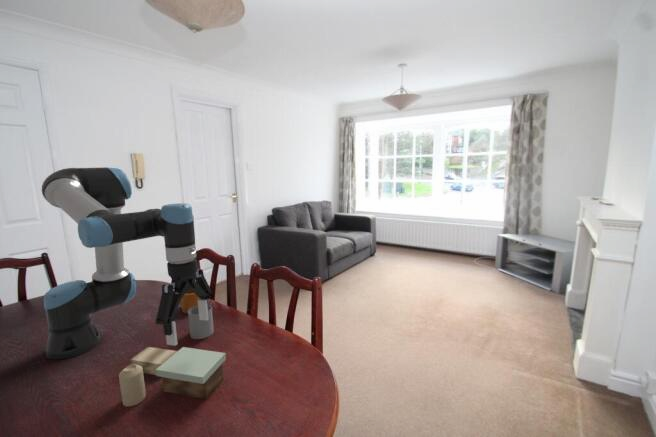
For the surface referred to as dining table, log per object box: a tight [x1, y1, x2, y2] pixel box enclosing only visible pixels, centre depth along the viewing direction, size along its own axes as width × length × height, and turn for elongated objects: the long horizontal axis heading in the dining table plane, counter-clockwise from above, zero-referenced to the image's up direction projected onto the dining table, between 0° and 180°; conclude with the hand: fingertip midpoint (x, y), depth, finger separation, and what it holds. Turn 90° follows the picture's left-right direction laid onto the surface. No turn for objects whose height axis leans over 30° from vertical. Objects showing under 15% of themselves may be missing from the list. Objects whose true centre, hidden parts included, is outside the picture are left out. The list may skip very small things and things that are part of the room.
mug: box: [179, 290, 201, 314], centre depth 139 cm, size 9×12×9 cm
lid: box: [155, 346, 227, 384], centre depth 88 cm, size 15×11×2 cm
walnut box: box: [162, 363, 224, 400], centre depth 89 cm, size 14×8×6 cm, turn 77°
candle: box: [118, 363, 147, 408], centre depth 83 cm, size 6×6×10 cm
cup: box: [187, 304, 214, 340], centre depth 117 cm, size 8×8×10 cm
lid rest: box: [130, 346, 179, 376], centre depth 98 cm, size 12×7×4 cm, turn 77°
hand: (189, 331), depth 87 cm, fingers open, 13 cm apart
